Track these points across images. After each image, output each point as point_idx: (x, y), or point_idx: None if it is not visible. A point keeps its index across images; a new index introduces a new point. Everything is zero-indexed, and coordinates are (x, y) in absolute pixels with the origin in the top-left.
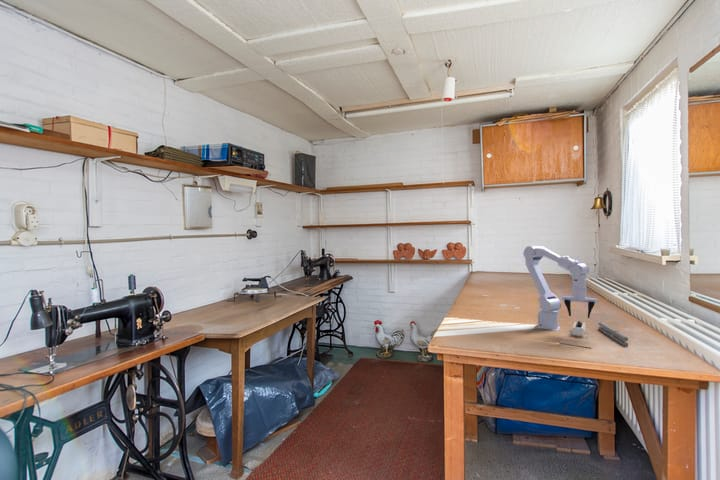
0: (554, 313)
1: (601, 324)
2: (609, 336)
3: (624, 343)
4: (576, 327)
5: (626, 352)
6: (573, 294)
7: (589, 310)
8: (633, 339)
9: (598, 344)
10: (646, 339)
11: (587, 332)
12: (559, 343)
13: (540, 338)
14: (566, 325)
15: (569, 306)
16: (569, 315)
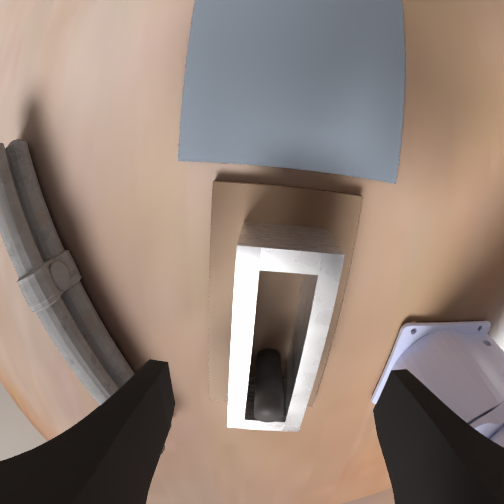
0: (469, 420)
1: None
2: (95, 312)
3: (13, 142)
4: (305, 265)
5: (35, 44)
6: None
7: (89, 437)
8: (25, 317)
9: (144, 101)
10: (4, 332)
11: (218, 357)
12: (401, 1)
13: (500, 104)
14: (325, 443)
15: (478, 470)
16: (406, 373)
